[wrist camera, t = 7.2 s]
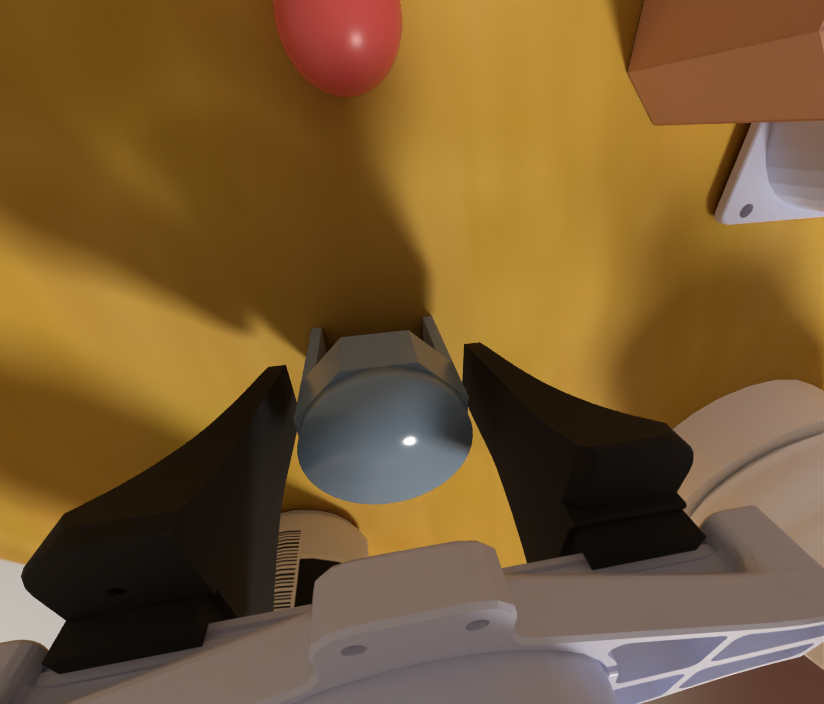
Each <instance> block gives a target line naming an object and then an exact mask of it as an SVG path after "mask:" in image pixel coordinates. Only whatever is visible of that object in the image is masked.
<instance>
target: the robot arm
mask: <svg viewBox="0 0 824 704" xmlns="http://www.w3.org/2000/svg"><path fill="white" fill-rule="evenodd" d="M742 208H743V209H742ZM741 210H742V211H741ZM740 211H741V212H740ZM812 217H824V121H798V122H761V123H751V126H750V128H749V131H748V133H747V136H746V138H745V140H744V143H743V145H742V148H741V150H740V153H739V155H738V158H737V160H736V163H735V165H734V167H733V170H732V172H731V175H730V177H729V180H728V182H727V185H726V187H725V190H724V192H723V194H722V197H721V199H720V202H719V204H718V207H717V209H716V212H715V220H716V221H717V222H718V223H722V224H727V225H731V224H742V223H754V222H766V221H777V220H789V219H801V218H812ZM462 384H463V386H464V388H465V390H466V393H467V395H468V397H469V398H468V407H469V410H470V412H471V414H472V416H473V418H474V420H475V423H476V425H477V427H478V429H479V431H480V433H481V435H482V437H483V439H484V441H485V443H486V445H487V447H488V449H489V452H490V454H491V456H492V458H493V460H494V463H495V465H496V468H497V470H498V473H499V476H500V479H501V482H502V485H503V487H504V490H505V493H506V496H507V499H508V502H509V505H510V508H511V511H512V514H513V518H514V521H515V524H516V527H517V530H518V534H519V537H520V540H521V543H522V547H523V550H524V554H525V557H526V561H527V564H521V565H516V566H511V567H505V568H501V565H500V563H499V560H498V557H497V554H496V551H495V549H494V548H492V547H490V546H488V545H485V544H483V543H481V542H478V541H454V542H448V543H442V544H437V545H431V546H426V547H420V548H414V549H409V550H403V551H397V552H392V553H386V554H381V555H375V556H369V557H364V558H358V559H353V560H350V561H347V562H344V563H341V564H338V565H335V566H332V567H331V568H330V569H329V570H328V571H326V572H325V573H324V574H323V575H321V576H320V577H319V578H318V579H317V580H316V581H315V584H314V591H313V601H312V604H309V605H304V606H299V607H294V608H288V609H283V610H278V611H274V591H275V576H276V561H277V549H278V537H279V526H280V517H281V508H282V499H283V493H284V488H285V483H286V478H287V474H288V470H289V465H290V461H291V456H292V452H293V447H294V442H295V438H296V433H297V429H296V426H295V423H294V416H295V411H296V406H297V402H296V398H295V395H294V391H293V388H292V384H291V381H290V378H289V374H288V371H287V367H286V365H281V366H273V367H268V368H267V369H266V370H265V371H264V372H263V373H262V374H261V375H260V376H259V377H258V378H257V379H256V380H255V381H254V382H253V383H252V385H251V386H250V387H249V388H248V389H247V390H246V391H245V392H244V393H243V394H242V395H241V396H240V397H239V398H238V399H237V400H236V401H235V402H234V403H233V404H232V405H231V406H230V407H229V408H228V409H226V410H225V411H224V412H223V413H222V414H221V415H220V416H219V417H218V418H217V419H216V420H215V421H213V422H212V423H211V424H210V425H209V426H208V427H206V428H205V429H204V430H203V431H202V432H200V433H199V434H198V435H196V436H195V437H194V438H193V439H191V440H190V441H189V442H187V443H186V444H185V445H183V446H182V447H180V448H179V449H177V450H176V451H174V452H173V453H171V454H170V455H168V456H167V457H166V458H164V459H163V460H161V461H160V462H158V463H157V464H155V465H154V466H152V467H150V468H149V469H147V470H145V471H144V472H142V473H140V474H139V475H137V476H135V477H134V478H132V479H130V480H128V481H127V482H125V483H123V484H121V485H120V486H118V487H116V488H114V489H112V490H110V491H109V492H107V493H105V494H103V495H101V496H99V497H97V498H95V499H93V500H91V501H89V502H87V503H85V504H83V505H81V506H79V507H77V508H75V509H73V510H71V511H69V512H67V513H65V514H64V515H63V516H62V517H61V519H60V520H59V521H58V523H57V524H56V525H55V527H54V528H53V529H52V531H51V532H50V533H49V535H48V536H47V537H46V539H45V540H44V541H43V543H42V544H41V545H40V547H39V548H38V549H37V551H36V552H35V553H34V555H33V556H32V557H31V559H30V560H29V561H28V563H27V564H26V565H25V567H24V568H23V572H22V575H21V578H22V581H23V584H24V587H25V589H26V590H27V591H28V592H29V593H30V594H31V595H32V596H33V597H35V598H36V599H37V600H39V601H40V602H41V603H43V604H44V605H45V606H47V607H48V608H50V609H51V610H52V611H54V612H55V613H56V614H58V615H59V616H60V617H62V618H63V619H65V620H66V622H65V624H64V625H63V627H62V629H61V631H60V633H59V634H58V636H57V638H56V639H55V641H54V643H53V644H52V646H51V648H50V650H48V649H47V648H46V647H44V646H43V645H41V644H40V643H37V642H34V641H30V640H14V641H8V642H3V643H0V704H641V703H644V702H647V701H651V700H654V699H657V698H660V697H663V696H666V695H669V694H672V693H676V692H679V691H682V690H685V689H688V688H691V687H694V686H697V685H701V684H704V683H707V682H710V681H713V680H717V679H720V678H723V677H726V676H729V675H733V674H736V673H740V672H743V671H747V670H751V669H754V668H758V667H761V666H765V665H768V664H772V663H776V662H780V661H784V660H788V659H792V658H796V657H800V656H802V655H804V654H806V653H807V652H809V651H810V650H812V649H813V648H815V647H816V646H818V645H819V644H821V643H822V642H824V568H823V567H822V566H821V565H819V564H818V563H817V562H816V561H815V560H814V559H813V558H812V557H811V556H810V555H809V554H807V553H806V552H805V551H804V550H803V549H802V548H801V547H800V546H799V545H798V544H797V543H795V542H794V541H793V540H792V539H791V538H790V537H789V536H788V535H787V534H786V533H785V532H783V531H782V530H781V529H780V528H779V527H778V526H777V525H776V524H775V523H774V522H773V521H771V520H770V519H769V518H768V517H767V516H766V515H765V514H764V513H763V512H762V511H761V510H759V509H758V508H757V507H756V506H752V505H750V506H745V507H739V508H734V509H728V510H723V511H718V512H715V513H713V514H711V515H709V516H708V517H707V518H705V519H704V520H703V522H702V523H701V525H700V527H698V526H697V525H696V524H695V523H694V522H693V521H692V519H691V518H690V517H689V516H688V515H687V514H686V513H685V512H684V510H683V509H685V508H686V506H687V505H686V502H685V501H684V500H683V499H682V498H681V496H680V495H679V494H678V493H677V491H678V490H679V488H680V486H681V485H682V483H683V481H684V480H685V478H686V476H687V475H688V473H689V471H690V469H691V467H692V464H693V459H694V452H693V450H692V448H691V446H690V445H689V444H688V443H687V442H686V441H684V440H683V439H682V438H681V437H680V436H679V435H678V434H677V433H676V432H675V431H674V430H672V429H671V428H670V427H669V426H668V425H667V424H666V423H663V422H658V421H654V420H650V419H645V418H641V417H637V416H632V415H628V414H625V413H621V412H618V411H614V410H611V409H608V408H604V407H601V406H598V405H595V404H592V403H590V402H587V401H585V400H582V399H579V398H577V397H574V396H572V395H569V394H567V393H564V392H562V391H560V390H558V389H556V388H554V387H552V386H550V385H547V384H546V383H544V382H542V381H540V380H538V379H536V378H534V377H533V376H531V375H529V374H527V373H526V372H524V371H522V370H521V369H519V368H518V367H516V366H514V365H513V364H511V363H510V362H508V361H507V360H505V359H504V358H502V357H501V356H499V355H498V354H497V353H495V352H494V351H492V350H491V349H489V348H488V347H486V346H485V345H483V344H482V343H480V342H479V343H471V344H464V359H463V380H462Z"/></svg>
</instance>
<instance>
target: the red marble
mask: <svg viewBox="0 0 824 704" xmlns="http://www.w3.org/2000/svg"><path fill="white" fill-rule="evenodd" d="M273 12H274V19H275V23H276V27H277V31H278V34H279V37H280V40H281V42H282V45H283V47H284V49H285V51H286V53H287V55H288V57H289V59H290V60H291V62H292V63H293V65H294V66H295V68H296V69H297V70H298V71H299V73H300V74H301V75H302V76H303V77H304V78H305V79H306V80H307V81H308V82H310V83H311V84H312V85H313V86H315V87H316V88H318V89H320V90H321V91H323V92H325V93H328V94H331V95H334V96H339V97H355V96H359V95H362V94H364V93H367V92H369V91H370V90H372V89H373V88H375V87H376V86H377V85H378V84H379V83H380V82H382V80H383V79H384V78H385V77H386V75H387V74H388V72H389V71H390V69H391V67H392V65H393V63H394V61H395V58H396V55H397V52H398V49H399V44H400V39H401V31H402V13H401V4H400V0H273Z"/></svg>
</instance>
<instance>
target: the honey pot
mask: <svg viewBox="0 0 824 704" xmlns="http://www.w3.org/2000/svg"><path fill="white" fill-rule="evenodd" d="M672 430H674V431H675V432H676V433H677V434H678V435H679V436H680V437H681V438H682V439H683V440H684V441H686V442H687V443H688V444H689V445H690V446H691V448H692V450H693V452H694V459H693V464H692V467H691V469H690V471H689V473H688V475H687V476H686V478H685V480H684V481H683V483H682V485H681V486H680V488H679V490H678V491H677V493H678V494H679V495H680V496H681V498H682V499H683V500H684V501H685V502H686V505H687V506H686V508H685V509H683V510H684V512H685V513H686V514H687V515H688V516H689V517H690V518H691V519H692V521H693V522H694V523H695V524H696V525H697V526H698V527H700V525H701V523H702V522H703V520H704V519H705V518H707V517H708V516H709V515H711V514H713V513H715V512H718V511H723V510H728V509H734V508H739V507H745V506H750V505H752V506H756V507H757V508H758V509H759V510H761V511H762V512H763V513H764V514H765V515H766V516H767V517H768V518H769V519H770V520H771V521H773V522H774V523H775V524H776V525H777V526H778V527H779V528H780V529H781V530H782V531H783V532H785V533H786V534H787V535H788V536H789V537H790V538H791V539H792V540H793V541H794V542H795V543H797V544H798V545H799V546H800V547H801V548H802V549H803V550H804V551H805V552H806V553H807V554H809V555H810V556H811V557H812V558H813V559H814V560H815V561H816V562H817V563H818V564H819V565H821V566H822V567H823V568H824V391H823V390H821V389H819V388H818V387H816V386H814V385H812V384H809V383H806V382H803V381H800V380H772V381H768V382H764V383H760V384H756V385H751V386H748V387H745V388H743V389H740V390H738V391H735V392H733V393H731V394H728V395H726V396H723V397H721V398H719V399H717V400H715V401H714V402H712V403H710V404H708V405H707V406H705V407H703V408H702V409H700V410H698V411H696V412H695V413H693V414H692V415H690V416H689V417H688V418H686V419H685V420H684V421H683V422H681V423H680V424H679V425H677V426H676V427H675V428H674V429H672ZM804 655H805V656H806V657H808V658H809V659H810V660H812V661H813V662H814V663H815V664H817V665H818V666H819V667H820V668H822V669H823V670H824V642H822V643H821V644H819V645H818V646H816V647H815V648H813V649H812V650H810V651H809V652H807V653H806V654H804Z"/></svg>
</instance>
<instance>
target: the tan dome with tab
mask: <svg viewBox="0 0 824 704" xmlns="http://www.w3.org/2000/svg"><path fill="white" fill-rule="evenodd" d="M628 74H629V76H630V78H631V80H632V82H633V84H634V86H635V88H636V90H637V92H638V94H639V96H640V98H641V100H642V102H643V104H644V106H645V108H646V110H647V112H648V114H649V116H650V118H651V120H652V122H653V124H654V125H687V124H724V123H761V122H798V121H824V0H644V4H643V8H642V12H641V17H640V21H639V25H638V30H637V34H636V38H635V43H634V47H633V51H632V56H631V60H630V64H629V69H628Z"/></svg>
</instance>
